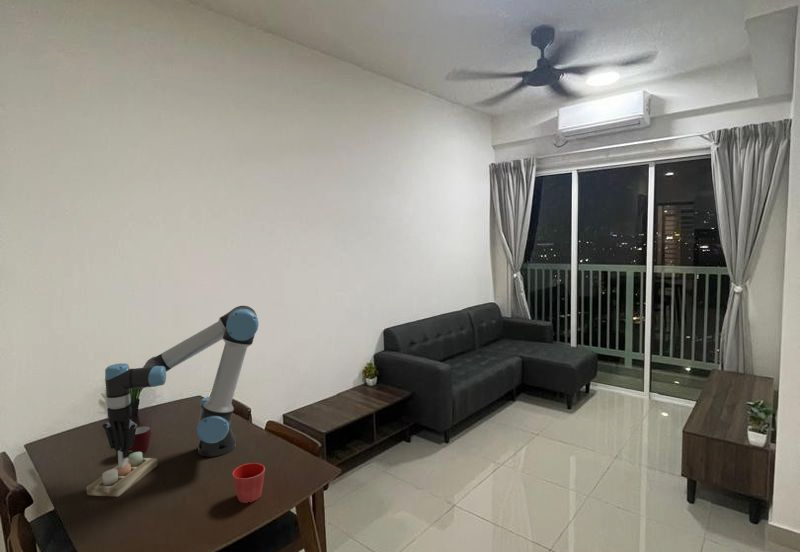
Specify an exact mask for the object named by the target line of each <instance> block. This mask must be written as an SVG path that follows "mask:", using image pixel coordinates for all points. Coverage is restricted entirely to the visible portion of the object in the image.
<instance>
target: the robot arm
mask: <svg viewBox="0 0 800 552" xmlns="http://www.w3.org/2000/svg"><path fill="white" fill-rule="evenodd" d="M259 324H260V323H259V319H258V316H257V313H256V310H254V309H253V308H252V307H250V306H249V305H238V306H236V307H234V308H232V309H231V310H230V311H228V312H227V313H225V314H224V315H222V316H220V317H219V319H218V321H216V322H214V323H213V324H211V325H209V326H208V327H206V328H204V329H202V330H200V331H199V332H197V333H195V334H193V335H191V336H190V337H188V338H186V339H184V340H183V341H181V342H179V343H178V344H176V345H173V346H172V347H171V348H168V349H167V350H165V351H163V352H162V353H160V354H158V355H156V356H152V357H151V358H149V359H148V360H147V361H145V364H144V365H143V366H142V367H138V368H130V366H129V364H128V363H122V362H121V363H115V364H114V363H113V364H110V365H108V366H107V367H106V368H105V371H104V373H105V375H104V382H105V392H106V393H105V395H106V407H107V409H106V410H107V418H108V420H107V422H105V423H103V424H102V428H103V429H104V431H105V433H106V436H107V440H108V444H109V447H110V449H112V450H113V449H114V450H115V454H116V459H117V461H118V465H119V468H123V467H124V466H126V465H127V464H128V461H127V459H128V458H129V455H130V453H129V450H128V449H129V448H131V447H132V446H133V444H134V439H135V433H136V428H137V427H139V422H134V421H133V418H132V410H133V409H132V403H131V402H132V399H131V397H132V396H131V390H134V389H143V388H145V389H146V388H152V387H153V388H156V387H161V386H164V385H165V383H166V380H167V372H168V371H170V370H171V369H173V368H175V367H177V366H178V365H180V364H182V363H184V362H185V361H187V360H189V359H191V358H192V357H194V356H196V355H198V354H200V353H201V352H203V351H204V350H206V349H208V348H209V347H212V346H213V345H215V344H216V343H219V342H220V341H224V346H223V350H222V353H221V358H220V359H219V360H220V361H219V364H218V367H217V371H216V374H215V379H214V381H213V385H212V388H211V393H210V395H209V396H206V397H203V398H202V399H201V400H200V402H199V403H200V404H199V407H200V413H199V414H200V415H199V418H198V422H197V423H198V424H197V425H196V434H197V437H198V438H199V442H198V443H199V444H198V447H197V450H198V455H200V456H202V457H206V458H207V457H219V456H222V455H223V456H224V455H226V454H228V453H230V452H231V451H233V450H234V449H235V448H236V446H237V440H236V438H235V434H234V433H233V430H232V421H231V420H232V416H233V413H234V409H235V408H234V406H233V403H232V402H233V399H234V395H235V391H236V388H237V384H238V382H239V377H240V374H241V370H242V367H243V365H244V359H245V356H246V353H247V350H248V348H249V347H250V346H252V345H253V343H254V342H253V341H254V339H255V335H256V333H257V332H258V330H259V329H258V328H259Z"/></svg>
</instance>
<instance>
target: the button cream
mask: <svg viewBox="0 0 800 552" xmlns="http://www.w3.org/2000/svg"><path fill="white" fill-rule="evenodd" d="M102 476H103V484H104V485H109V486H112V485H111V484H113V483H115V482H117V481H118V470H117V469H113V468H112V469H108V470H106V471H103V473H102ZM102 476H101V477H102Z"/></svg>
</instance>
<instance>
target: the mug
mask: <svg viewBox="0 0 800 552" xmlns="http://www.w3.org/2000/svg"><path fill="white" fill-rule="evenodd" d="M151 434H152V433H151V427H150V426H145V425H144V426H137V428H136V433H135V439H134V444H133V446H132V447H131V448H129V449H128V451H132V453H134V452H142V455H144V454H146V453H147V452H148V449H149V447H150V444H151V443H150V441H151Z"/></svg>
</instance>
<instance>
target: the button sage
mask: <svg viewBox="0 0 800 552" xmlns="http://www.w3.org/2000/svg"><path fill="white" fill-rule="evenodd" d="M128 458H129V463H130V464H131V466H135V467H136V465H139V464H141V463H142V462H143V458H144V456H143V454H142V452H132V453H129V456H128Z"/></svg>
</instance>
